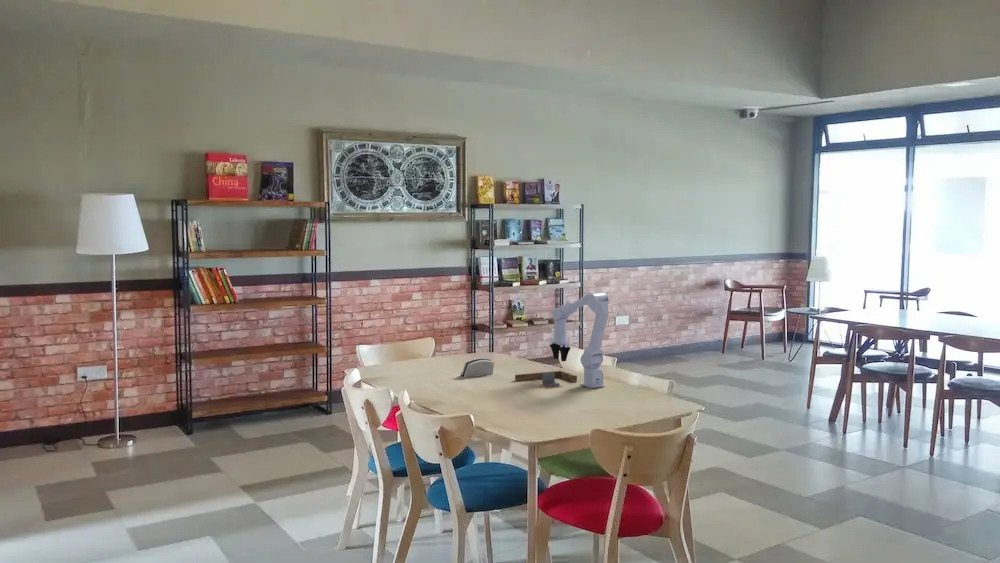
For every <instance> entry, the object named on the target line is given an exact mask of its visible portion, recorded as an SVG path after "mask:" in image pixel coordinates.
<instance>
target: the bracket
mask: <svg viewBox="0 0 1000 563" xmlns="http://www.w3.org/2000/svg"><path fill="white" fill-rule="evenodd" d="M554 371H555V370H554ZM554 371H553V370H552V372H551V371H541V372H542V379H541V381H542V382H541V384H542V385H544V386H546V387H557V386H561V384H560V383H558V382H556V380H555V379H556V378H555V372H554ZM557 388H558V387H557Z"/></svg>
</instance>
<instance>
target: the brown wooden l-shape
mask: <svg viewBox="0 0 1000 563" xmlns="http://www.w3.org/2000/svg"><path fill="white" fill-rule="evenodd" d="M552 371H553V370H552ZM552 371H550V372H552ZM542 372H543V371H541V372H532V373H531V372H530V373H520V374H514V381H515V382H525V381H526V380H527V381H535V380H534V379H538V380H542ZM554 372H555V379H557V378H558V377H559V378H561V379H564V380H566V381H569V382H572V383H577V382H578V376H577V375H576V374H573V373H570V372H567V371H565V370H554Z"/></svg>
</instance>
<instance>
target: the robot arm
mask: <svg viewBox="0 0 1000 563" xmlns="http://www.w3.org/2000/svg"><path fill="white" fill-rule="evenodd" d="M609 305H610V298H609V296H608V294H607V293H606V292H604V291H603V292H602V291H601V292H595V293H594V292H593V293H591V292H590V293H587V294H585V295H584V296H582V297H581V298H579V299H577V300H576V301H570V300H568V301H567V302H566V303H565V304H561V305H560V306H559V307H555V308H553V309H552V311H551V316H552V319H554V320H553V321H554V322H553V324H554V325H553V332H554V333H553V334H554V336H553V339H550V340H551V344H549V346H550V349H551V352H552V356H553V359H554V360H557V359H559V358H560V361H561V362H566V361H567V358H568V355H569V352H570V350H571V346H570V342H568V341H567V322H568V318H569V316H571V315H573V314H575V313H577V312H578V309H579V308H581V307H584V306H588V308H589V310H591V312H593V313H594V314H595V317H594V322H593V323H594V324H593V326H592V331H591V335H590V338H589V344H588V346H587V347H586V348H585V349H584V350H583V352H582V355H581V356H580V363H581V365H582V367H583V382H580V385H581V386H583V387H587V388H589V389H594V388H604V387H605V385H604V373H603V370H602V369H601V368H600V367H601V365H602V363H603V361H604V351H603V350H602V349H601V347H602V344H603V343H602V342H603V338H604V335H605V329H606V327H607V322H608V317H609ZM559 355H560V356H559Z"/></svg>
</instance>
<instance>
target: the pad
mask: <svg viewBox="0 0 1000 563" xmlns="http://www.w3.org/2000/svg"><path fill="white" fill-rule="evenodd" d="M540 385H541V387H543V388H545V387H546V386H544V385H542V383H541V384H539V386H540ZM554 388H555V389H556V387H546V388H545V389H554ZM557 388H563V385H560V386H557Z"/></svg>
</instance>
